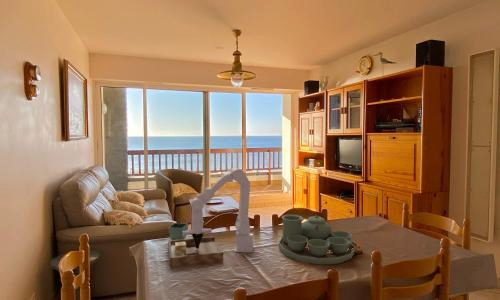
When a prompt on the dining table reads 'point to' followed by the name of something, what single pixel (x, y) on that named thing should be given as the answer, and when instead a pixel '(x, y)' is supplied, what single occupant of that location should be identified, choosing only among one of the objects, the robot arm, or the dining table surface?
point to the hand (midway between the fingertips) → (197, 247)
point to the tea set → (314, 241)
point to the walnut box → (195, 252)
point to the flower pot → (177, 231)
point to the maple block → (180, 247)
